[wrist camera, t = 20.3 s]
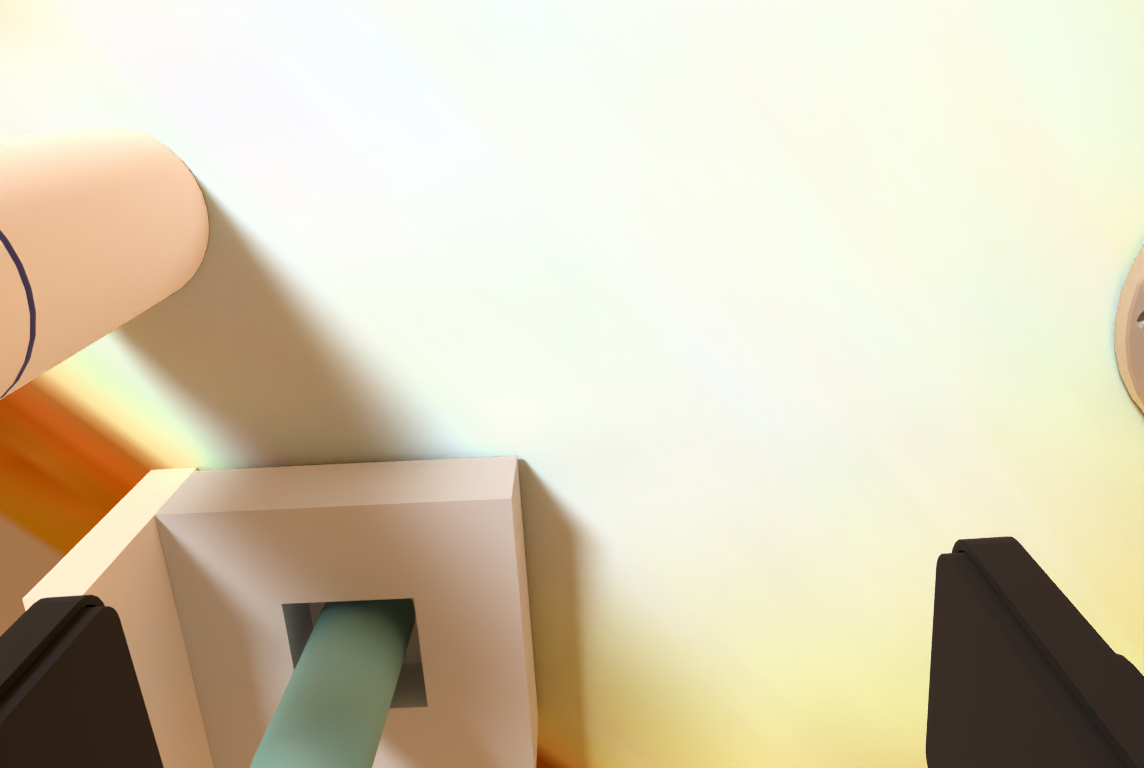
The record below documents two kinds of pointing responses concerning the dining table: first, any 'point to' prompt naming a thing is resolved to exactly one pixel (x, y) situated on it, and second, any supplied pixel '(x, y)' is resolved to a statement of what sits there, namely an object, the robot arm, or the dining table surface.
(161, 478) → the wall
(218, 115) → the dining table surface
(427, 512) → the socket block
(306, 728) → the dowel
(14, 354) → the cylindrical container
